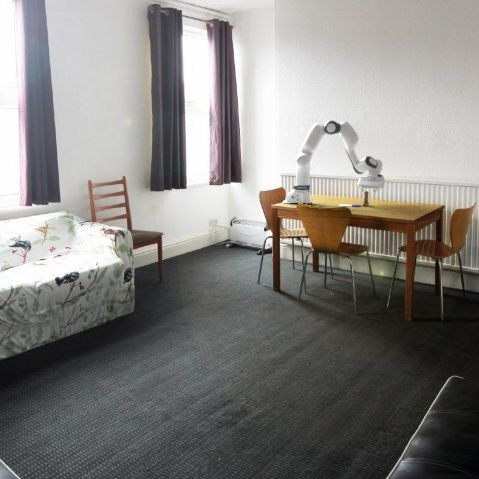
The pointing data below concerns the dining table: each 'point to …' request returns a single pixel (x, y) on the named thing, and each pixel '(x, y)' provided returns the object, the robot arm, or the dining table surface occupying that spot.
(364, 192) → the stamp
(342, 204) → the print sheet
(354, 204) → the ink pad
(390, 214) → the dining table surface
